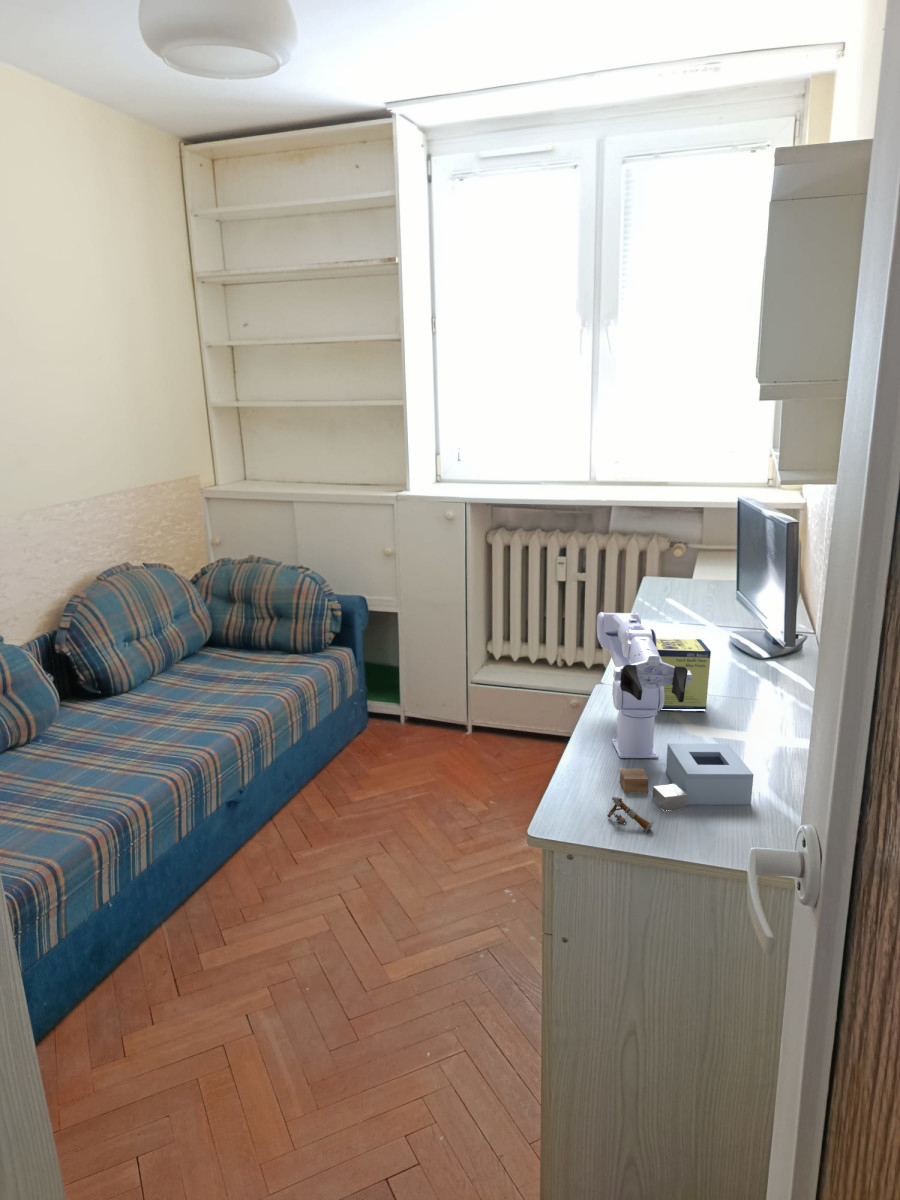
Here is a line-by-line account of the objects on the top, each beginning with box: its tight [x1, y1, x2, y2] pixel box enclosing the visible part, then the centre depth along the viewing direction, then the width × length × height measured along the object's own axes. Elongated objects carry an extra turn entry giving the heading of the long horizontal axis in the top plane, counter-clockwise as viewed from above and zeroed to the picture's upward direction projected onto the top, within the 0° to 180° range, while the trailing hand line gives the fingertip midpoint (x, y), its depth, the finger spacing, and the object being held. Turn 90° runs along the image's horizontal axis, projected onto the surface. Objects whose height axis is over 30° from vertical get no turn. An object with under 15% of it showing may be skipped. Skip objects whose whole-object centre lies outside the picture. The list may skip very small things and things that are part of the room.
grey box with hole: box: [665, 743, 755, 806], centre depth 156 cm, size 14×12×6 cm
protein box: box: [656, 638, 712, 710], centre depth 200 cm, size 10×16×16 cm
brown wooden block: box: [619, 768, 650, 794], centre depth 156 cm, size 4×4×3 cm
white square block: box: [651, 783, 688, 812], centre depth 149 cm, size 4×4×3 cm
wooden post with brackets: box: [607, 796, 655, 833], centre depth 142 cm, size 2×8×4 cm, turn 53°
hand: (661, 696), depth 149 cm, fingers open, 7 cm apart
